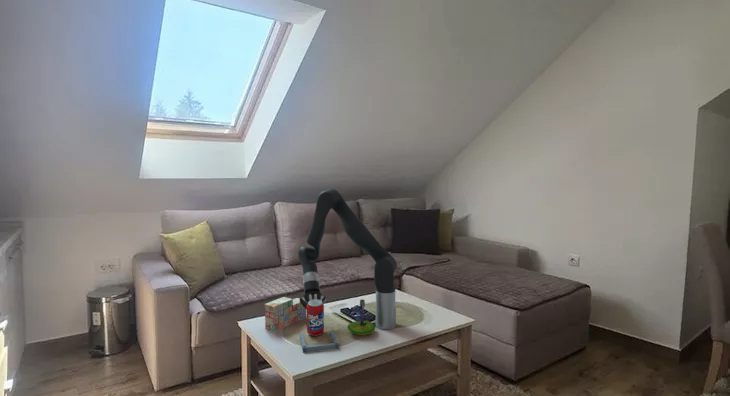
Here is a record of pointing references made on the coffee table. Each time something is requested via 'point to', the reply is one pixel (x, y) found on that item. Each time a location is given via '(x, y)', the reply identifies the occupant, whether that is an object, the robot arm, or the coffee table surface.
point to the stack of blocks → (283, 313)
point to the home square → (322, 346)
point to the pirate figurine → (361, 323)
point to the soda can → (315, 317)
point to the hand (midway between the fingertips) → (314, 317)
